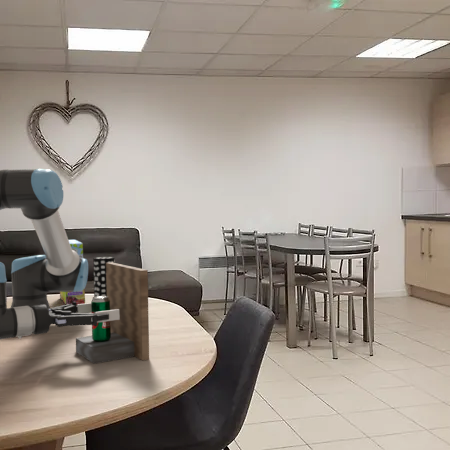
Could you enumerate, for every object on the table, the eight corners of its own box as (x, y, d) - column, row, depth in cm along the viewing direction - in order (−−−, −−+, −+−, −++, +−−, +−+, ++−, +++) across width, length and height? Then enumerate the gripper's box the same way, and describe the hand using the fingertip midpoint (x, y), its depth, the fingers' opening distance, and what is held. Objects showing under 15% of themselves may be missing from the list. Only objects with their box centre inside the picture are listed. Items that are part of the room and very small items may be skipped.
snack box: (57, 298, 249) (56, 240, 248) (78, 296, 253) (76, 239, 252) (64, 306, 230) (62, 243, 228) (86, 304, 233) (84, 242, 232)
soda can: (106, 342, 154) (105, 298, 153) (89, 342, 155) (87, 298, 154) (113, 338, 159) (112, 295, 158) (97, 337, 160) (95, 295, 159)
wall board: (70, 348, 164) (68, 265, 163) (113, 341, 172) (112, 262, 171) (101, 368, 144) (99, 274, 143) (149, 359, 152) (147, 270, 151)
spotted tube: (96, 306, 230) (94, 257, 229) (116, 305, 230) (115, 256, 229) (93, 310, 221) (91, 259, 220) (114, 309, 222) (113, 258, 221)
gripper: (19, 326, 156) (92, 316, 168) (46, 344, 136) (128, 332, 148) (18, 299, 156) (92, 291, 168) (45, 313, 135) (127, 303, 147)
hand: (109, 310), depth 158 cm, fingers open, 13 cm apart
